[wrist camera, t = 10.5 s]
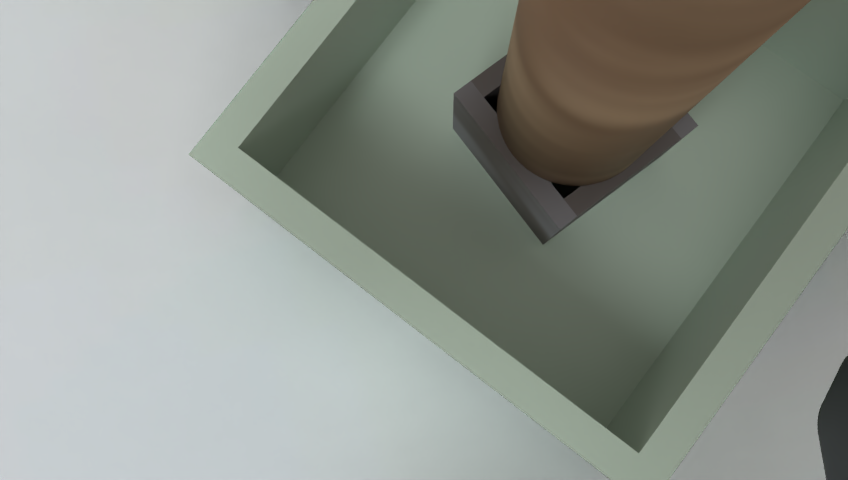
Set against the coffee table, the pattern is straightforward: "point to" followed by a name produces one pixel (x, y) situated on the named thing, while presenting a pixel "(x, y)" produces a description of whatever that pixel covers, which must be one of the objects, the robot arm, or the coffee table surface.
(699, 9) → the brown peg with base
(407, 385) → the coffee table surface
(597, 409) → the bin
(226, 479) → the coffee table surface
